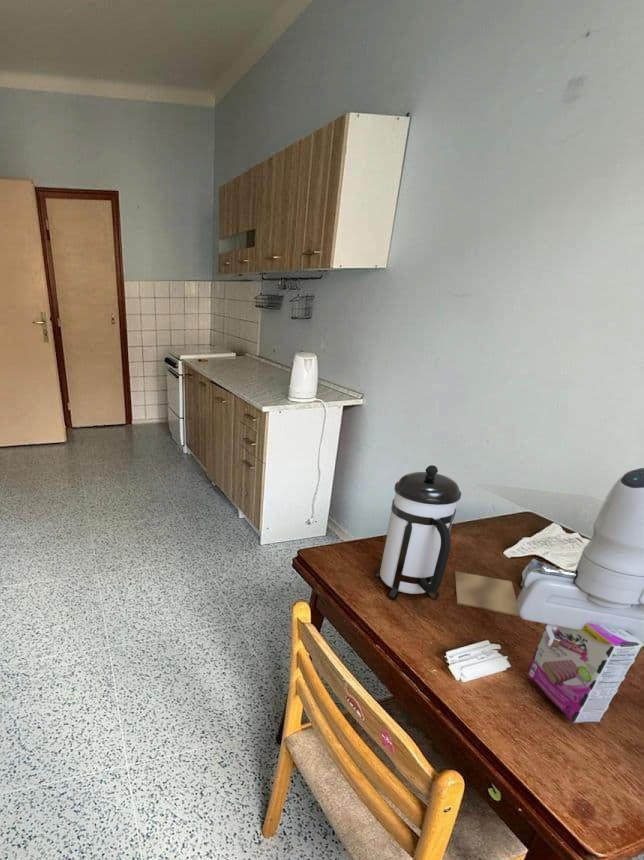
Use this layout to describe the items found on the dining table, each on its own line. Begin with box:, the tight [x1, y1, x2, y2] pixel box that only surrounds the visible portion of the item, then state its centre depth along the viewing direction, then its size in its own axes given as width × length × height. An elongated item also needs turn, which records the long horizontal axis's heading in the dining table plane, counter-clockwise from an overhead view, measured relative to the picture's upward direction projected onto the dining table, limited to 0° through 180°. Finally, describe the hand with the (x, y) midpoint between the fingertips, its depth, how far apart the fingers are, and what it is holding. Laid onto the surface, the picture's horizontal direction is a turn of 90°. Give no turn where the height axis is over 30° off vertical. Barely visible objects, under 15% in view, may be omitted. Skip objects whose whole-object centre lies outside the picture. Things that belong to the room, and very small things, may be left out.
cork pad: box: [454, 570, 521, 618], centre depth 108 cm, size 12×14×1 cm
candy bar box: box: [526, 623, 644, 724], centre depth 75 cm, size 11×5×16 cm, turn 4°
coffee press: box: [373, 465, 462, 601], centre depth 103 cm, size 17×16×30 cm
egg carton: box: [520, 558, 557, 588], centre depth 110 cm, size 11×8×4 cm
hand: (580, 650), depth 75 cm, fingers closed on candy bar box, 6 cm apart
